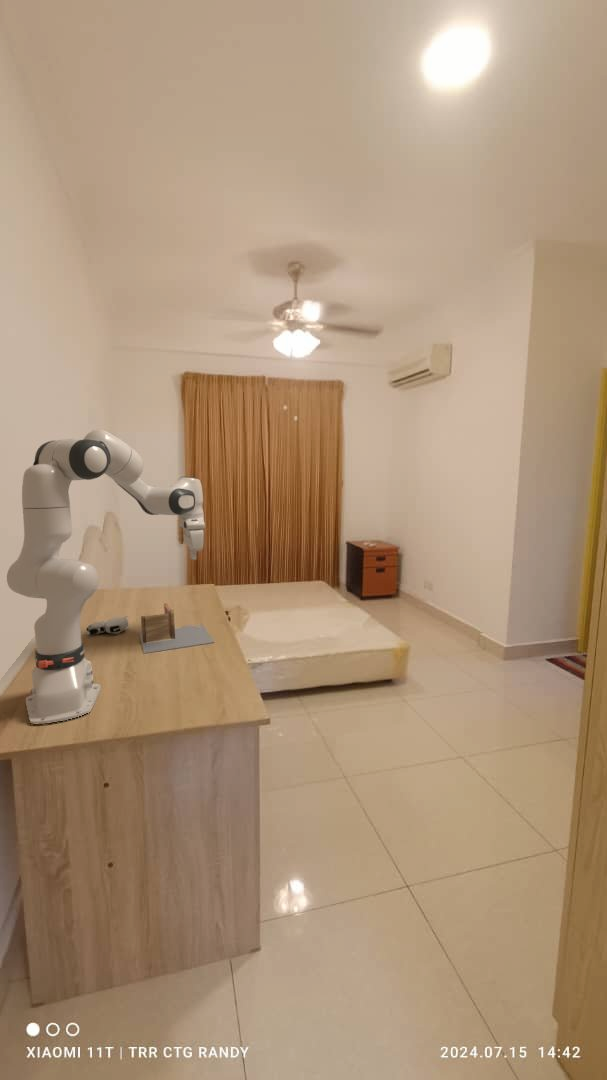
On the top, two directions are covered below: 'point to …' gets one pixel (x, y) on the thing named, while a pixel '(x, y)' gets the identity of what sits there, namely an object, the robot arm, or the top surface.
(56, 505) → the robot arm
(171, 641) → the board
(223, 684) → the top surface
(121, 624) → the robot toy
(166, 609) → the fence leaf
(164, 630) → the fence fixed
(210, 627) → the top surface
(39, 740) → the top surface
